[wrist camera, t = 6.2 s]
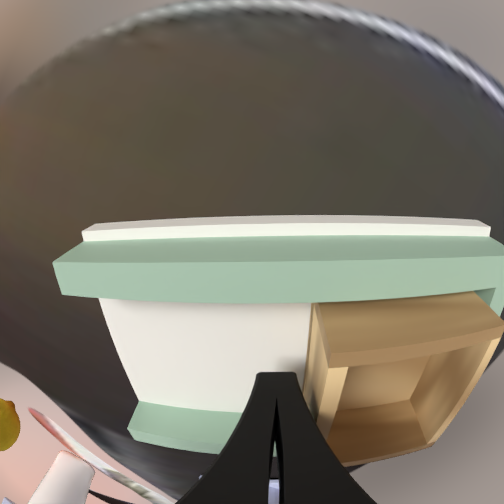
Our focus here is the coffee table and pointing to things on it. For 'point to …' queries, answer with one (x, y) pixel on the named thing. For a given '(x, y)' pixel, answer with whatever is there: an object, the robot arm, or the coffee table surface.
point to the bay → (252, 299)
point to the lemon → (8, 424)
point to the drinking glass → (65, 481)
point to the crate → (394, 370)
